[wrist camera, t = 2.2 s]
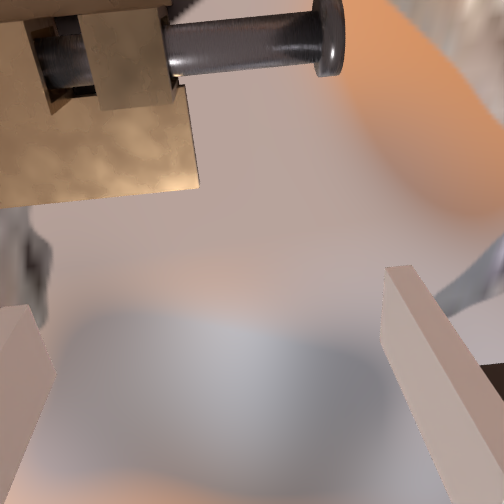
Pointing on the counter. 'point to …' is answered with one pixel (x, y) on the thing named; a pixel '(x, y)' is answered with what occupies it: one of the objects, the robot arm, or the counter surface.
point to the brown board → (92, 107)
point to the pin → (220, 46)
